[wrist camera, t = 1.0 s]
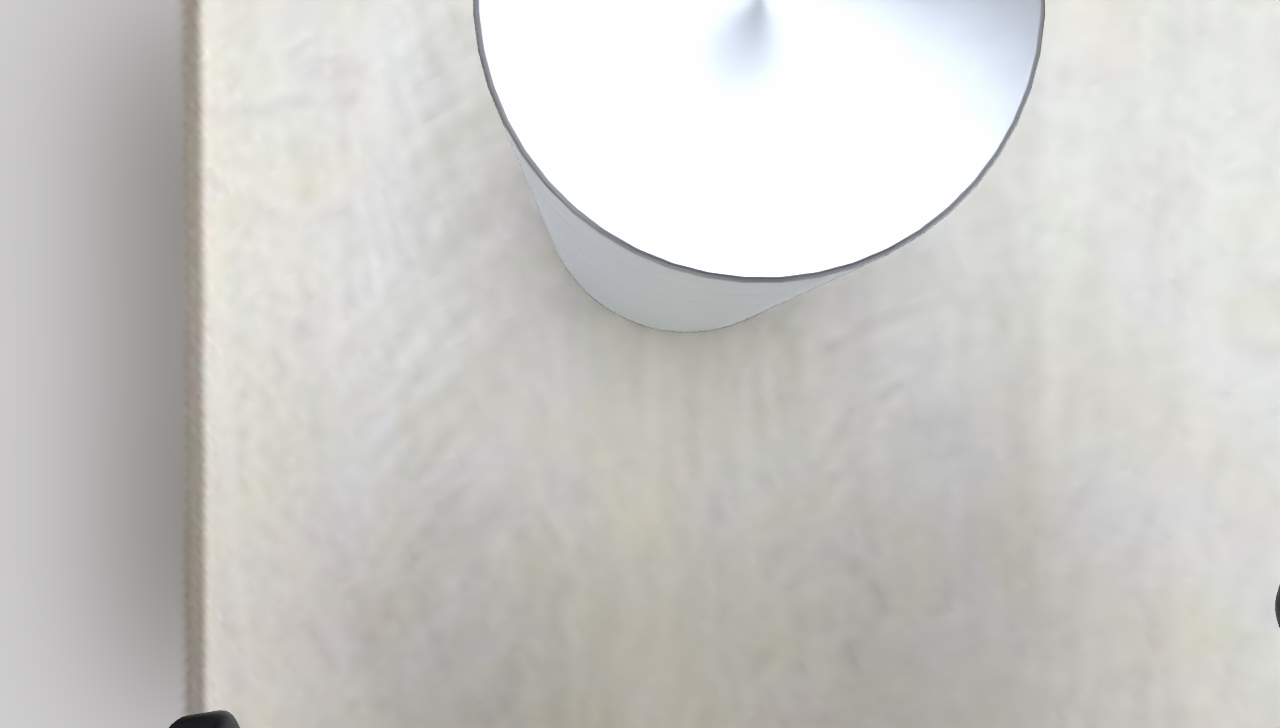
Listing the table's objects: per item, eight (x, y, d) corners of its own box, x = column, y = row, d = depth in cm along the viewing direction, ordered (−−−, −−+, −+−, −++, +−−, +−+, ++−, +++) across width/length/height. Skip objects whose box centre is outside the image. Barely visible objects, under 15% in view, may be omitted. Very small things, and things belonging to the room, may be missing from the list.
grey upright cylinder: (752, 381, 24) (894, 381, 12) (493, 254, 24) (372, 124, 12) (876, 124, 24) (1143, -134, 12) (620, -3, 24) (628, -391, 12)
